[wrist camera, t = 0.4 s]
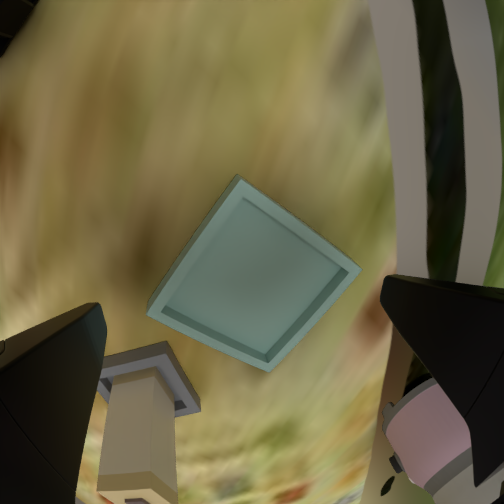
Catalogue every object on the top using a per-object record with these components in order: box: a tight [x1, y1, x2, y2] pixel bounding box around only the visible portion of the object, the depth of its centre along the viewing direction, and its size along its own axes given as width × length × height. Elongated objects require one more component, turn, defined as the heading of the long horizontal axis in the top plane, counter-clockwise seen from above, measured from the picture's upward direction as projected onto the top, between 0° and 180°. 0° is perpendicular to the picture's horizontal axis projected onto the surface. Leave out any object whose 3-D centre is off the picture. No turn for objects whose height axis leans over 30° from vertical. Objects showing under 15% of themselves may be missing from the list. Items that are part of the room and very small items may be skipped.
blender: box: [382, 378, 504, 504], centre depth 23 cm, size 16×12×32 cm
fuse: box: [97, 366, 178, 504], centre depth 21 cm, size 4×4×12 cm
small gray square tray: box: [97, 341, 201, 417], centre depth 26 cm, size 8×9×2 cm
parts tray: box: [146, 174, 362, 372], centre depth 24 cm, size 12×12×2 cm
